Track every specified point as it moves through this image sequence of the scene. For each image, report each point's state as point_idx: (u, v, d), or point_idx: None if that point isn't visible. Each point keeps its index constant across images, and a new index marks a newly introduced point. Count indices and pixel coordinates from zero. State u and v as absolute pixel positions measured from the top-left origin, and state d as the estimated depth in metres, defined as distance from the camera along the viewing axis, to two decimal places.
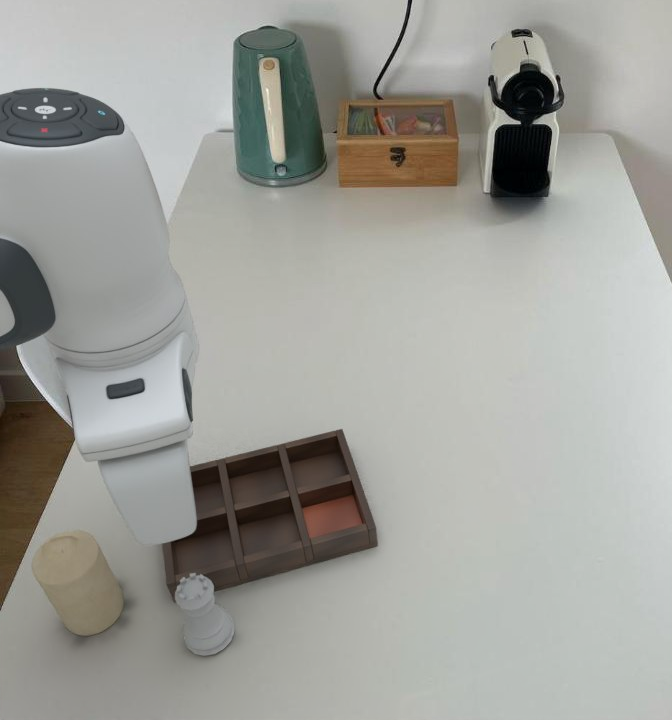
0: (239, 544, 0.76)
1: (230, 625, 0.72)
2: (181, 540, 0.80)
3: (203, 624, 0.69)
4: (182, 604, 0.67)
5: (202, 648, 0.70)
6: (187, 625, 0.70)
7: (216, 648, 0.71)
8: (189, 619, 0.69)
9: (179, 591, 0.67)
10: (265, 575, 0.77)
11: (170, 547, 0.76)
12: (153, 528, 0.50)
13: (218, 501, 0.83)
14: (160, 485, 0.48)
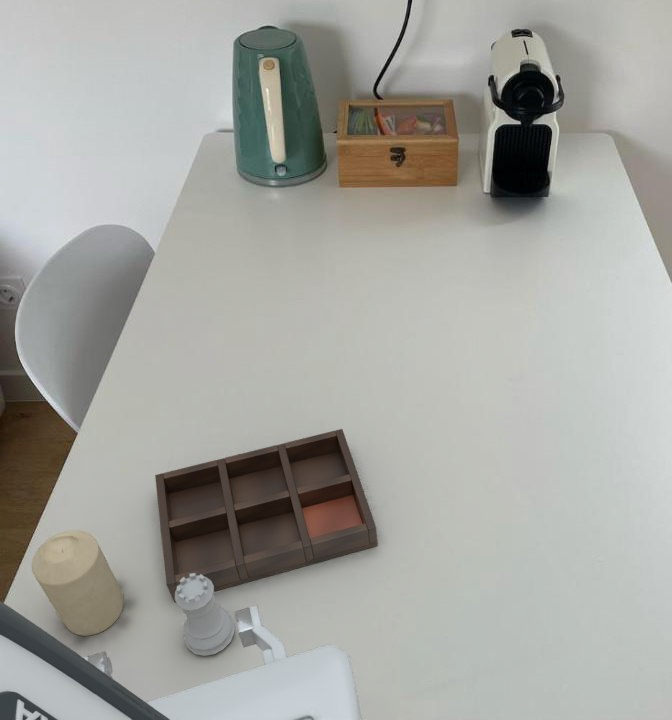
0: (239, 544, 0.76)
1: (230, 625, 0.72)
2: (181, 540, 0.80)
3: (203, 624, 0.69)
4: (182, 604, 0.67)
5: (202, 648, 0.70)
6: (187, 625, 0.70)
7: (216, 648, 0.71)
8: (189, 619, 0.69)
9: (179, 591, 0.67)
10: (265, 575, 0.77)
11: (170, 547, 0.76)
12: None
13: (218, 501, 0.83)
14: None
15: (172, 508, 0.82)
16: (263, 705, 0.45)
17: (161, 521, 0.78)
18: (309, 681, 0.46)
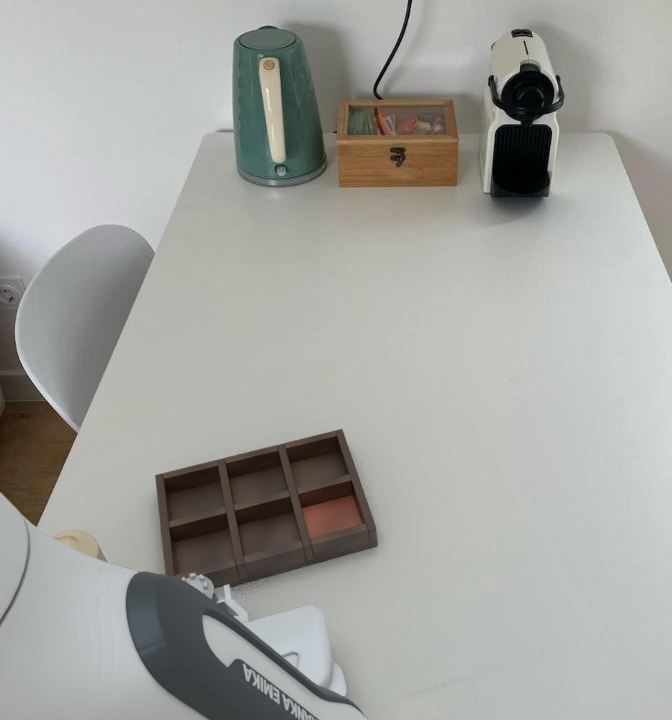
0: (239, 544, 0.76)
1: None
2: (181, 540, 0.80)
3: None
4: None
5: None
6: None
7: None
8: None
9: None
10: (265, 575, 0.77)
11: (170, 547, 0.76)
12: None
13: (218, 501, 0.83)
14: None
15: (172, 508, 0.82)
16: None
17: (161, 521, 0.78)
18: (295, 629, 0.65)
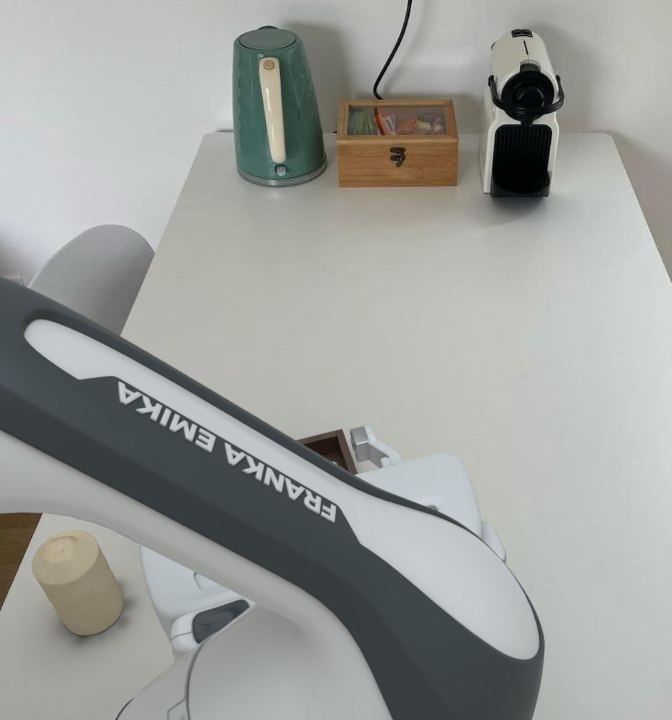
0: None
1: None
2: None
3: None
4: None
5: None
6: None
7: None
8: None
9: None
10: None
11: None
12: None
13: None
14: None
15: None
16: None
17: None
18: (429, 479, 0.50)
